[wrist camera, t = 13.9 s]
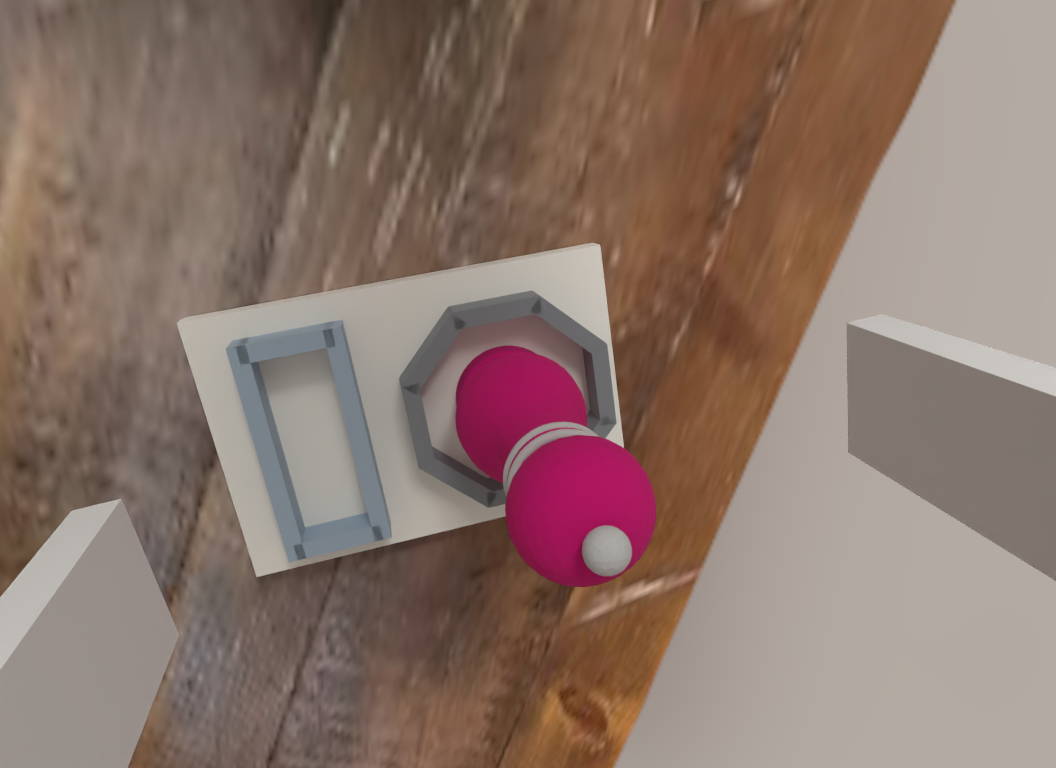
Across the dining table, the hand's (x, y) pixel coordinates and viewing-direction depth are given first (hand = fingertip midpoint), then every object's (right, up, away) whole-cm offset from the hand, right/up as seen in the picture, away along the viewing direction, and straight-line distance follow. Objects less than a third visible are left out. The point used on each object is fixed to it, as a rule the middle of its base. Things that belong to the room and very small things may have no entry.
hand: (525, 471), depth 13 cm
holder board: (-6, 0, +31) cm, 32 cm away
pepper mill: (-1, +1, +30) cm, 31 cm away
